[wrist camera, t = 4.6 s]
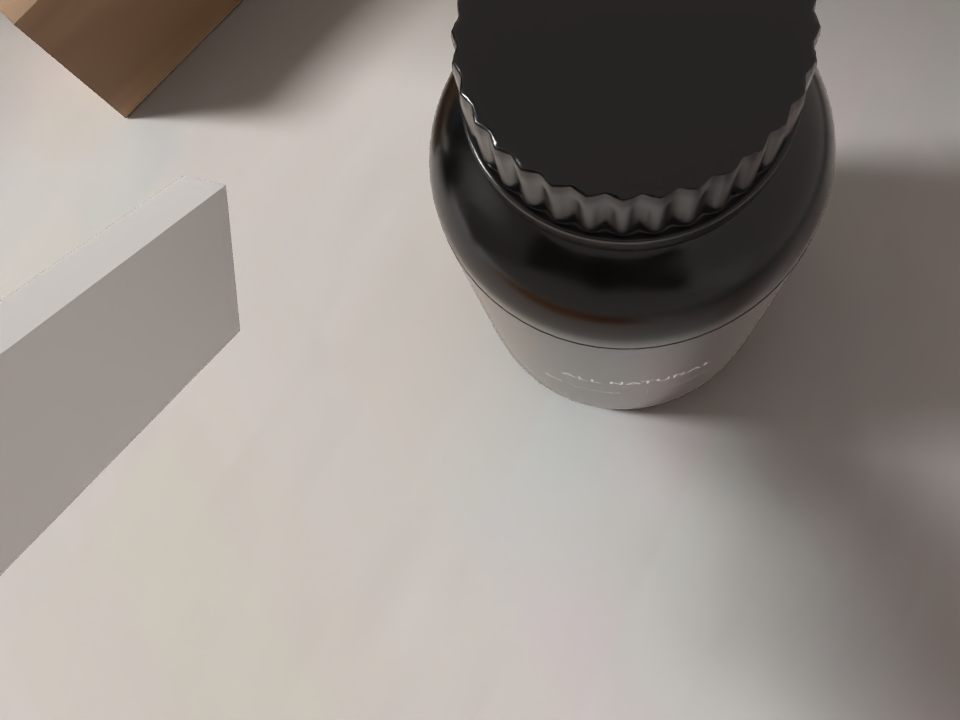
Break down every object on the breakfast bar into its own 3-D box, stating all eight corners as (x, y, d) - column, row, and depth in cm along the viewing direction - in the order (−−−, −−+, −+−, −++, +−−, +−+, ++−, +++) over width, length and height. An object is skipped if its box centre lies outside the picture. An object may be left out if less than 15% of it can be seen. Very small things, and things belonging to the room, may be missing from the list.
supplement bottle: (605, 470, 23) (582, 399, 11) (439, 269, 24) (266, 19, 13) (821, 295, 22) (1029, 35, 11) (640, 105, 24) (653, -295, 13)
